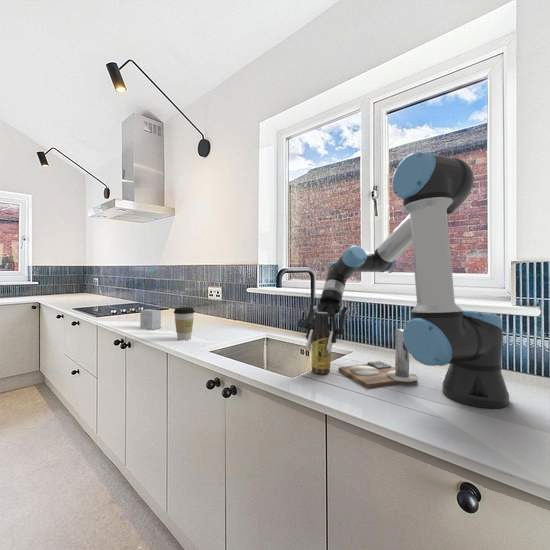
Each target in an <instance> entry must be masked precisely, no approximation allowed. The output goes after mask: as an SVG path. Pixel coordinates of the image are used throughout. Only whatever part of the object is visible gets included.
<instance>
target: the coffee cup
mask: <svg viewBox="0 0 550 550" xmlns="http://www.w3.org/2000/svg"><path fill="white" fill-rule="evenodd" d="M195 313H196V312H195V310H194V307H188V306H187V307H184V306H183V307H176V308H175V309H174V311H173V314H174V323H175V331H176V336H177V340H178V341H180V340H186V341H189V339H190V340H192V332H193V325H194V315H195Z"/></svg>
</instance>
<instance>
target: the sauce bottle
mask: <svg viewBox="0 0 550 550" xmlns="http://www.w3.org/2000/svg"><path fill="white" fill-rule="evenodd" d="M315 317H317V323H316V328H315V329H314V331H313V340H312V345H311V372H312V373H314V374H317V375H318V374H319V375H326V374H329V373H330V372H331V359H332V358H331V355H332V354H331V353H332V352H331V353H328V351H327V344H328V340H329V336H330V332H331V331H330V329H329V323H328V322H329V320H328V319H329V317H328V313H327V312H318V311H316V313H315Z"/></svg>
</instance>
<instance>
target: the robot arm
mask: <svg viewBox="0 0 550 550" xmlns="http://www.w3.org/2000/svg"><path fill="white" fill-rule="evenodd" d="M474 178H475V176H474V171H473V170H472V167H471V166H470V164H469V163H467V162H466V161H465V160H462V159H460V158H456V157H448V156H444V155H439V154H433V153H432V152H430V151H427V152H422V151H416V152H412V153H409V154H408V155H406V156H405V157H404V158H403V159H402V160H401V161H400V162H399V164H398V165H397V168H395V171H394V173H393V176H392V181H391V187H392V191H393V194H395V195H396V197H398V198H399V199H402V206H403V209H402V210H404V211H405V212H406V213H407V214H409V215H407V217H406V218H405V219H404V220H403V221H402V222H401V223H400V224H399V225H398V226H397V227H396V228H395V229H394V230H393V231H392V232H391V233H390V234H389V236H387V238H386V239H385V240H384V241H383V242H382V243H381V244H380V245H379V246H378V247H377V248H376V249H375V250H374V251H366V250H365V249H364V248H363V247H361V246H358V245H351V246H349V247H348V248H347V249H345V250H344V252H343V253H342V255H341V256H340V257H339V258H338V259H337V260H334V261H332V262H331V263H330V265H329V267H328V270H327V273H326V275H327V276H326V279H325V282H324V286H323V289H322V293H321V295H320V299H319V303H318V304H317V305H313V304H310V305H309V311H308V313H307V316H306V319H305V322H304V324H303V328H304V331H305V332H307V333H306V335H305V339H306V340H307V341H306V345H305V348H306V349H307V351H311V350H312V340H313V331H314V329H315V328H316V323H317V317H316V316H315V315H316V313H317V312H327V313H328V318H330V319H331V323H332V324H331V325H332V330H333V331H332V330H331V331H329V332H330V336H329V340H328V344H327V351H328V353H332V348H333V344H336V342H337V338H338V336H339V335H344V334H345V327H346V318H347V315H348V313H349V311H348V307H347V306H344V307H341V305H342V301H343V296H344V292H345V287H346V283H347V281H348V280H349V278H351V277H352V276H353V275H354V274H355V273H386V272H390V271H393V269H394V268H395V265H396V260H397V258H399V257H400V256H401V255H402V254H403V253H405V251H407V249H409V248H410V247H411V246H412V256H413V257H412V258H413V268H414V269H413V270H414V283H415V295H416V305H415V306H414V307H413V308H412V309H411V310H410V313H411V319H410V320H408V322H406V324H405V326H404V327H403V329H404V330H403V340H404V343H405V346H406V348H407V350H408V352H409V355H411V356H412V358H413V359H414V360H416V361H417V362H418V363H419V364H422V365H424V366H429V367H435V366H438V367H442V366H446V365H448V364H449V366H448V369H447V371H446V373H445V377H444V379H443V381H442V393H443V394H444V395H445V396H446V397H448V398H450V399H451V400H453V401H456V402H458V403H461V404H464V405H468V406H473V407H478V408H485V409H502V408H506V407H508V406H509V405H510V393H509V391H508V388H507V386H506V385H507V384H506V382H505V378H504V376H503V374H502V355H503V353H502V352H503V331H504V328H503V324H502V323H503V321H502V318H501V316H499V315H497V314H493V313H486V312H478V311H473V310H464V309H462V308H461V307H460V306H459V305H457V304H456V301H455V291H454V280H453V279H454V278H453V268H452V257H451V244H450V233H449V232H450V231H449V223H448V216H449V215H451V214H453V213H454V212H455V211H456V210H457V209H458V208H459V207H460V206H461V205H462V204H463V203H464V202H465V201H466V199H468V196H469V195H470V194H471V191H472V189H473V186H474V181H475V179H474ZM339 312H340V317H339V326H338V324H337V319H336V316H337V314H339Z"/></svg>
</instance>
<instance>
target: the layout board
mask: <svg viewBox="0 0 550 550" xmlns="http://www.w3.org/2000/svg"><path fill="white" fill-rule="evenodd" d="M338 372H340V373H341V374H343V375H345V376H346V377H348V378H349V379H351V380H352V381H355V382H356V383H358V384H360V385H362V387H365V388H367V389H373V388H380V387H386V386H394V385H400V384H407V382H408V383H414V382H413V381H415V382H418V380H419V376H418V375H417V374H415V373H413V372H411V371H409V377H406V378H404V377H398V376H396V375H395V366H392V365H391V364H388V363H386V362H382V361H380V360H378V361H377V360H375V361H368V362H367V363H366V364H356V365H348V366H339V367H338Z"/></svg>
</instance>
